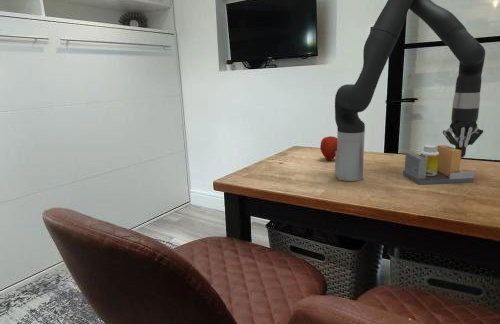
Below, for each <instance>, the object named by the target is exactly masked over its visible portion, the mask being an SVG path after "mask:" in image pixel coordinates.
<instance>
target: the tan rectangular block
mask: <svg viewBox="0 0 500 324" xmlns="http://www.w3.org/2000/svg"><path fill="white" fill-rule="evenodd" d="M436 146H437V151H438V152H439V161H438V171H439V172H441V173H442V174H444V175H446V176H449V173H453V172H460V167H461V159H462V158H461V150H458V149H456V148H455V147H453V146H450V145H447V144H444V145H443V144H441V145H436Z"/></svg>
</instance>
